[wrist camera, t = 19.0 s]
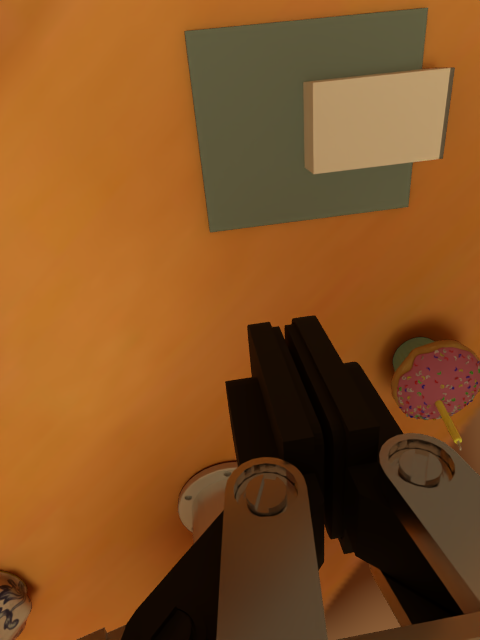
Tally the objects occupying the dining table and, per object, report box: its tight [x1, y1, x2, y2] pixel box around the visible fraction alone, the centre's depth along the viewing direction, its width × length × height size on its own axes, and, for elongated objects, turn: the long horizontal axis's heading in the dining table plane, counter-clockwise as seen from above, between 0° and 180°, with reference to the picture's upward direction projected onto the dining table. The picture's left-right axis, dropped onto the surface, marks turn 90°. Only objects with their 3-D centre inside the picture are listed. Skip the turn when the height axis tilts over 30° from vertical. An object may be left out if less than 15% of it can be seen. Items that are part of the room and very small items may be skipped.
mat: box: [185, 8, 428, 232], centre depth 34 cm, size 14×17×1 cm
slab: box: [303, 68, 455, 174], centre depth 33 cm, size 6×3×10 cm
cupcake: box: [391, 337, 480, 450], centre depth 41 cm, size 9×8×12 cm
